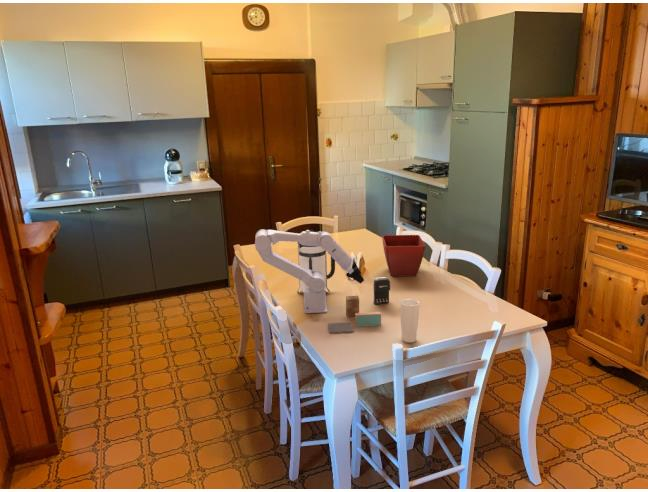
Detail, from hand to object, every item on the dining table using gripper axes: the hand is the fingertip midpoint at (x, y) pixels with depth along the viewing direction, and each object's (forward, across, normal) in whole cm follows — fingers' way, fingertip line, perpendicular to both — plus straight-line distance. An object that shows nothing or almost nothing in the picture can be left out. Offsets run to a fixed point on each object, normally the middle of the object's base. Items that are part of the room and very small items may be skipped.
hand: (360, 278), depth 208 cm
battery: (+16, +2, +1) cm, 16 cm away
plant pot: (+28, +39, -12) cm, 49 cm away
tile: (+10, -18, +8) cm, 22 cm away
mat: (+2, -20, +16) cm, 26 cm away
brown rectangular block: (+7, -9, +12) cm, 16 cm away
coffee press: (-2, +18, +23) cm, 29 cm away
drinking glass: (+18, -32, -2) cm, 37 cm away
